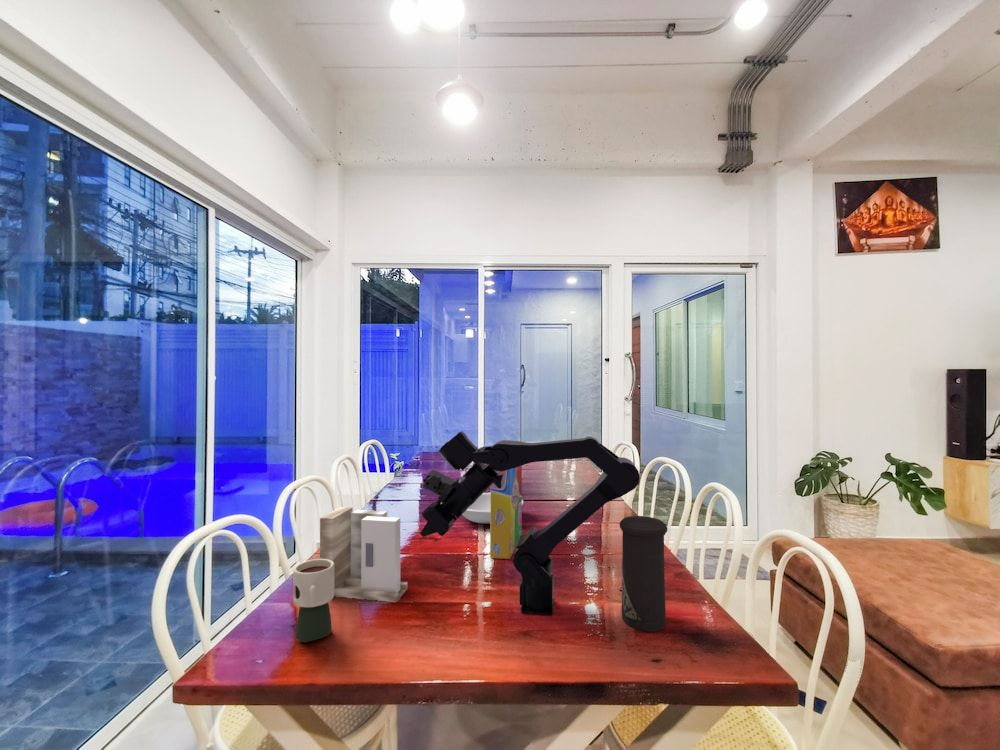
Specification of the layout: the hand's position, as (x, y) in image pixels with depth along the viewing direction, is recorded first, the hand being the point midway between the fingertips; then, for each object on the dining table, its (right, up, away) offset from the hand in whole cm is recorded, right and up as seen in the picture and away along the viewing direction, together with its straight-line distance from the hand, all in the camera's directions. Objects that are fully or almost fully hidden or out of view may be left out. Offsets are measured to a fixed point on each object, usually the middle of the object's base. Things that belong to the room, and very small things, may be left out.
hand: (422, 534), depth 100 cm
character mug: (-18, -14, -15) cm, 27 cm away
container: (+45, -14, -10) cm, 48 cm away
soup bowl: (+13, -14, +54) cm, 58 cm away
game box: (+19, -14, +31) cm, 39 cm away
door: (-9, -14, +1) cm, 17 cm away
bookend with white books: (-13, -14, +4) cm, 19 cm away
